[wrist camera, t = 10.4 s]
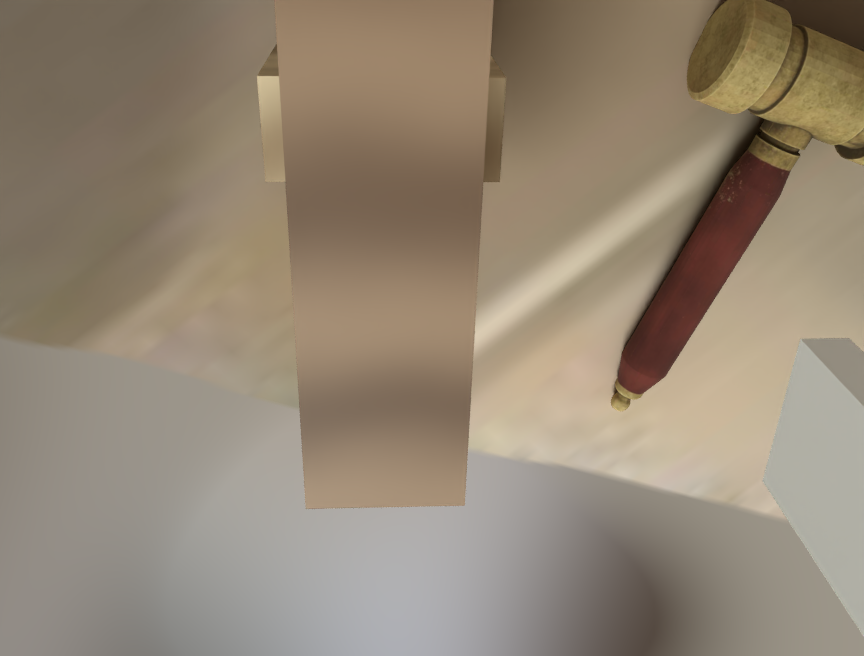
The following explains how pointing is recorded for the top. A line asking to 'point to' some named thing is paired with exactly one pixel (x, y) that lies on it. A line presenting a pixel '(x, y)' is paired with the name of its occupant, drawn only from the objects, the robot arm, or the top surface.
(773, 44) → the gavel
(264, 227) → the top surface
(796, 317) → the top surface
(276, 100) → the fulcrum
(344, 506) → the walnut beam
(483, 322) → the top surface
